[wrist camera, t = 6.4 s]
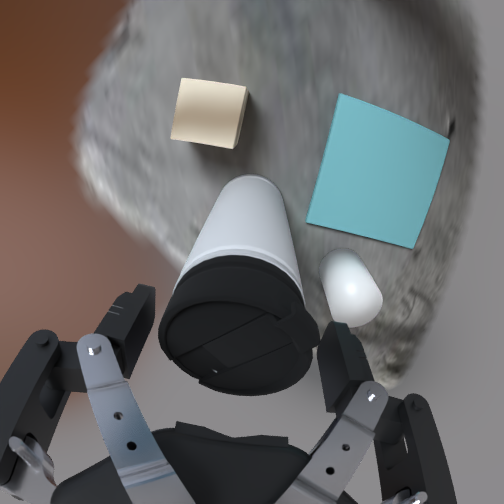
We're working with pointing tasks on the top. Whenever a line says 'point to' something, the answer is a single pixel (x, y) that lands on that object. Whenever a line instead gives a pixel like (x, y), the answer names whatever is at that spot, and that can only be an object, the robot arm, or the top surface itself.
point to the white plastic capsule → (349, 288)
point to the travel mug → (241, 298)
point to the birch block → (209, 112)
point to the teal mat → (376, 174)
